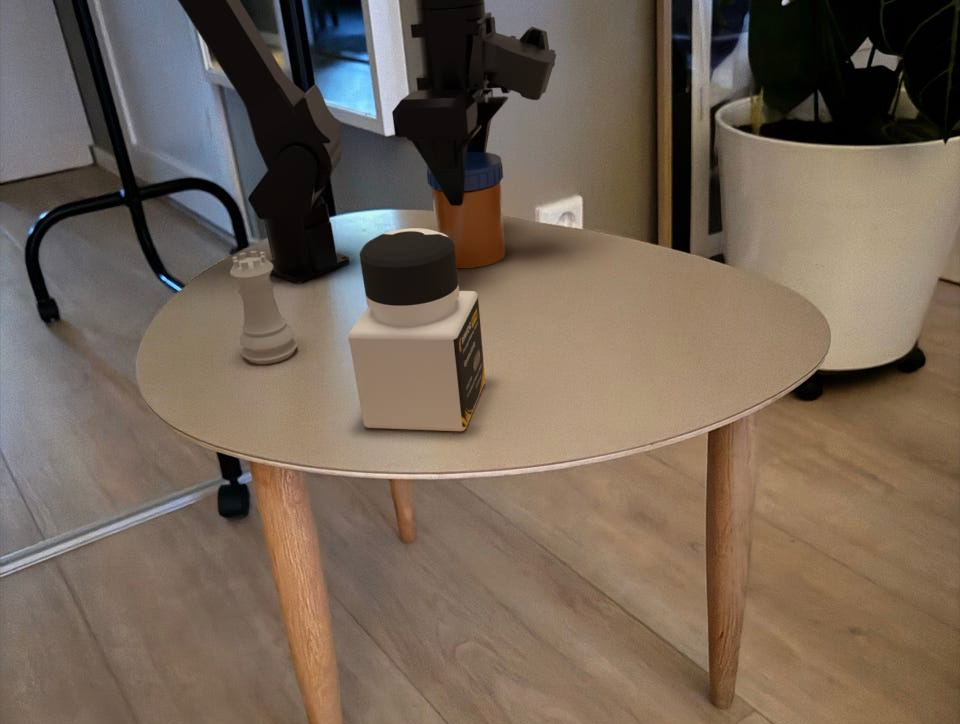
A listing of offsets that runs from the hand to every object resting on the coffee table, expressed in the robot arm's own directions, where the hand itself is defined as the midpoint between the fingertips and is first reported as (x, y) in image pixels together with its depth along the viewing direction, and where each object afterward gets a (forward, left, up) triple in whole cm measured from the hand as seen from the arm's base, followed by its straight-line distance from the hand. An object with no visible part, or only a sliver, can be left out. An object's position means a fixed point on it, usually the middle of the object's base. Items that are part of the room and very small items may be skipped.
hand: (466, 193), depth 85 cm
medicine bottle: (+18, -23, -6) cm, 30 cm away
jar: (0, 0, -6) cm, 6 cm away
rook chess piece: (+1, -25, -6) cm, 25 cm away
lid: (0, 0, +2) cm, 2 cm away
